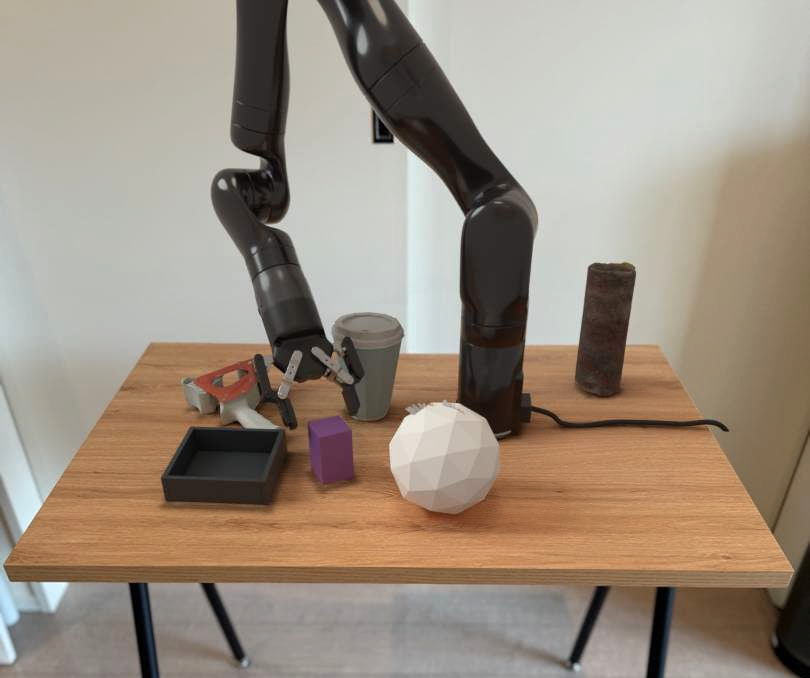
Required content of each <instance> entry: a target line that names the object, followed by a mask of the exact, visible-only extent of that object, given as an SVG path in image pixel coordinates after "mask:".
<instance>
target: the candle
mask: <svg viewBox="0 0 810 678" xmlns="http://www.w3.org/2000/svg"><path fill="white" fill-rule="evenodd" d="M636 278H637V270H636V266H635V265H634V264H632V263H630V262H628V261H623V262H620V263H617V262H616V263H615V262H610V263H606V262H605V263H604V262H603V263H602V262H592V263H591V264H589V265H588V266H587V272H586V280H585V281H586V282H585V288H584V289H585V290H584V297H583V306H582V315H581V322H580V323H581V324H580V331H579V339H578V348H577V355H576V363H575V371H574V374H575V375H574V382H575V383H576V384H577V385H578V387H581V388H582V389H583V390H584V391H585V392H588V393H592V394H593V395H597V396H599V397H609V396H612V395H614V394H615V393H617V392H618V391H620V387H621V383H622V382H621V381H622V376H623V369H624V362H625V353H626V346H627V339H628V332H629V326H630V319H631V312H632V305H633V300H634V299H633V298H634V291H635V285H636Z"/></svg>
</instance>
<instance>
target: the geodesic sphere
mask: <svg viewBox="0 0 810 678" xmlns="http://www.w3.org/2000/svg"><path fill="white" fill-rule="evenodd" d="M404 409H405V411H407V412H408V413H409V414H408V415H406V416H405V417H404V418H403V419H402V421H401V423H400V425H399V426H398V429H397V430H396V432H395V434H394V435H393V437H392V439H391V440H390V442H389V444H388V445H389V464H390V465H389V466H390V471H391V473H392V476H393V478H394V480H395V483H396V485H397V487H398V490H399V492H400V493H401V496H402V498H403V499H404V500H406V501H409V502H411V503H413V504H414V505H417V506H419V507H421V508H422V509H426V510H428V511H429V512H435V513H443V514H451V515H458V514H460V513H461V512H463V511H465V510H467V509H469V508H472V507H473V506H475V505H477V504H479V503H480V502H482V501H484V500H485V499H486V497H487V496H488V493H489V492H490V490H491V488H492V487H493V486H494V483H495V482H496V480H497V478H498V477H499V475H500V473H501V466H500V465H501V464H500V463H501V462H500V461H501V460H500V458H501V457H500V444H499V442H498V439H496V438H495V436H494V434H493V432H492V430H491V428H490V426H489V424H488V422H487V420H486V419H485V418H484V417H482V416H480V415H479V414H477V413H475V412H473V411H472V410H470V409H468V408H466V407H465V406H463V405H461V404H459V403H456V402H451V401H447V400H446V399H443V401H442V402H430V403H428V404H426V403H425V402H422V404H421V403H420V402H417V405H416V404H413V403H412V404H411V406H407V407H405V408H404Z"/></svg>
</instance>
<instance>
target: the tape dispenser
mask: <svg viewBox="0 0 810 678" xmlns="http://www.w3.org/2000/svg"><path fill="white" fill-rule="evenodd" d="M253 359H254V357H253V358H248V359H244V360H240V361H237V362H235V363H233V364H230V365H227V366H224V367H222V368H219V369H217V370H214V371H211V372H208V373H205V374H202V375H199V376H197V377H194V376H192V377H187V376H186V377H184V378H182V379H181V381H180V383H181V385H182V390H183V395H184V400H185V402H186V404H187V406H189V407H190V406H192V407H193V406H194V407H195V408H197V409H198V411H199V412H200V414H202V415H208V414H214V413H216V409H217V406H218V404H219V406H220V408H219V413H220V419H221V423H222V425H224V426H227V425H230V424H232V423H233V424H234V423H235V422H239V423H240V425H241V426H242V428H256V429H284V428H283V427H282V426H281V425H277V424H274V423H273V422H272V421H271V420H270V419H267V418H265V417H264V415H263V414H259V413H258V411H257V410H256V408H257V407H258V406H259V404H260V402H261V400H260V396H259V392H258V388H257V384H256V380H255V376H254V372H253V369H252V362H253ZM235 371H236V379H237V380H236V381H234V382H233V383H232V384H230V385H227V386H224V381H223V380H224V379H223V377H224V375H227V374H229V373H233V372H235ZM268 373H269V372H268ZM268 373H267V374H268ZM268 375H269V374H268Z"/></svg>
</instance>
